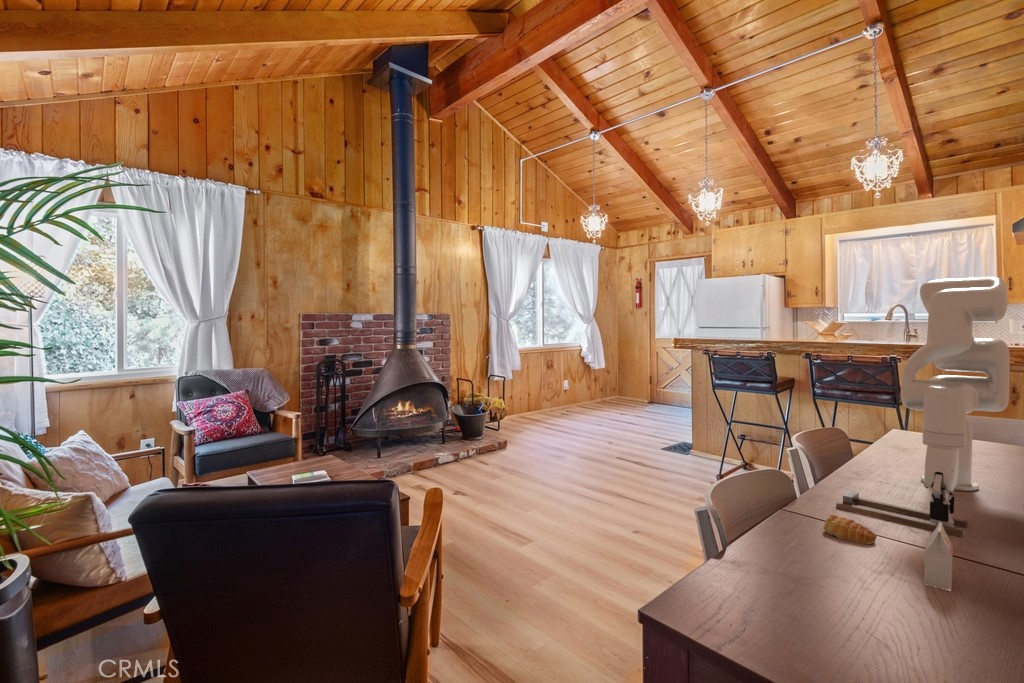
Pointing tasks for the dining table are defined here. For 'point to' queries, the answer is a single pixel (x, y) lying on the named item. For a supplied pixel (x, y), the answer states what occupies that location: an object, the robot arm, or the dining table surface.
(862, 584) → the dining table surface
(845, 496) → the end stop
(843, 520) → the pastry
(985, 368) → the robot arm
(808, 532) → the dining table surface
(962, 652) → the dining table surface
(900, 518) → the guide track
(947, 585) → the white gable top carton
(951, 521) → the rook chess piece
